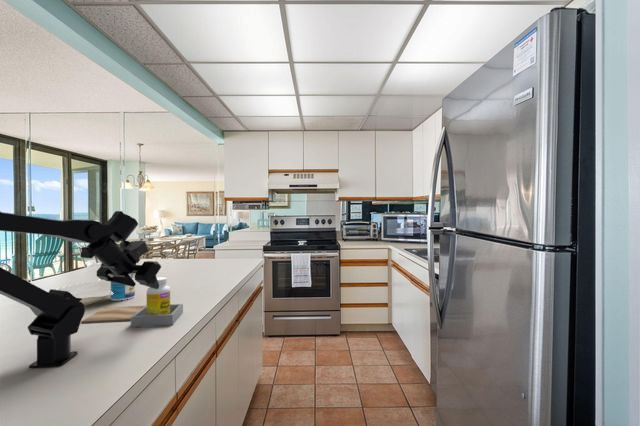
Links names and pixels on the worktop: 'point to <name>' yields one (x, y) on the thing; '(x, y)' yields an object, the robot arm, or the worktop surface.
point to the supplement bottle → (159, 298)
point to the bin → (156, 317)
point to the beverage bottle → (122, 291)
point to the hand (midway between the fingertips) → (146, 286)
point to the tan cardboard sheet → (113, 314)
